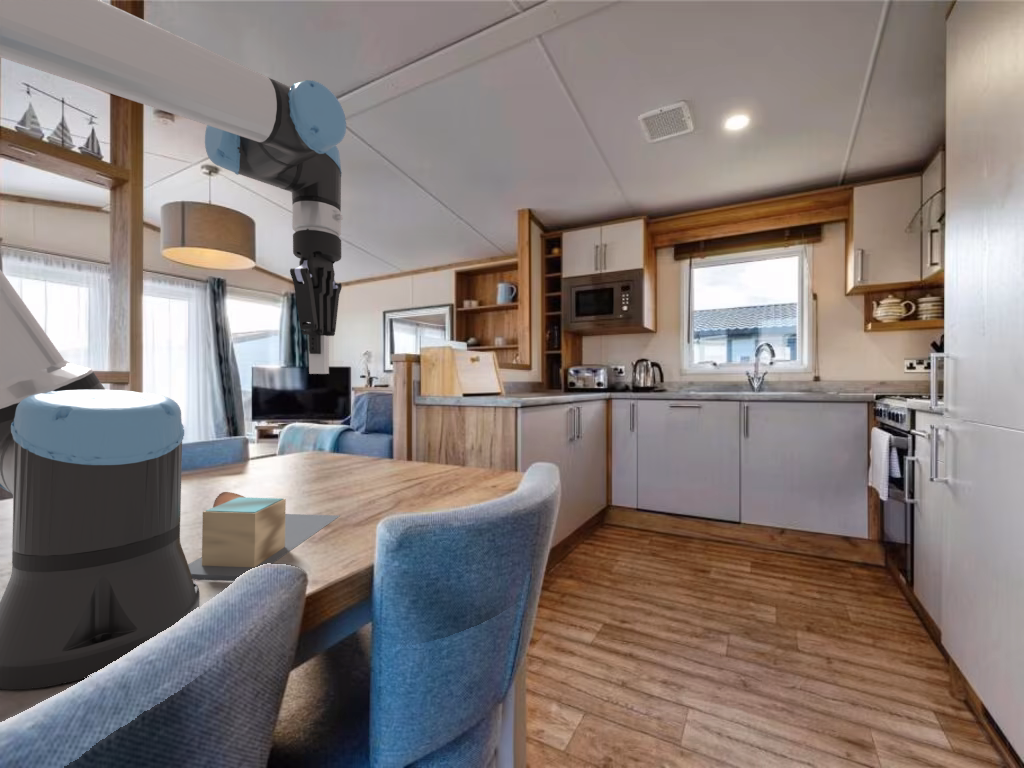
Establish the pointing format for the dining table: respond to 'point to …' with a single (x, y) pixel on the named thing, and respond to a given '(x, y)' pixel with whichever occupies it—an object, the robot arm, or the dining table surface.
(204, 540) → the maple cube
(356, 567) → the dining table surface
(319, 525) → the mat
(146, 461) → the robot arm
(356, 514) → the dining table surface
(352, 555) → the dining table surface
